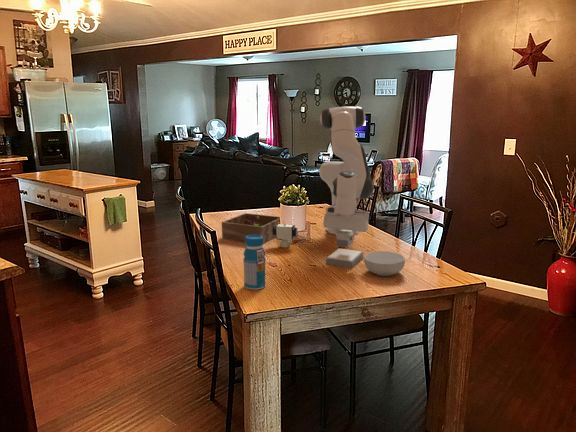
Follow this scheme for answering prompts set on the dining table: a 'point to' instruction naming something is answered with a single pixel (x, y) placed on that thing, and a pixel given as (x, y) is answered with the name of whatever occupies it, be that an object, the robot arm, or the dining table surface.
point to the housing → (344, 238)
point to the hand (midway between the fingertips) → (345, 239)
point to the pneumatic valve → (285, 233)
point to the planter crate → (249, 227)
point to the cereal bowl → (384, 262)
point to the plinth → (344, 258)
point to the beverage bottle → (254, 263)
